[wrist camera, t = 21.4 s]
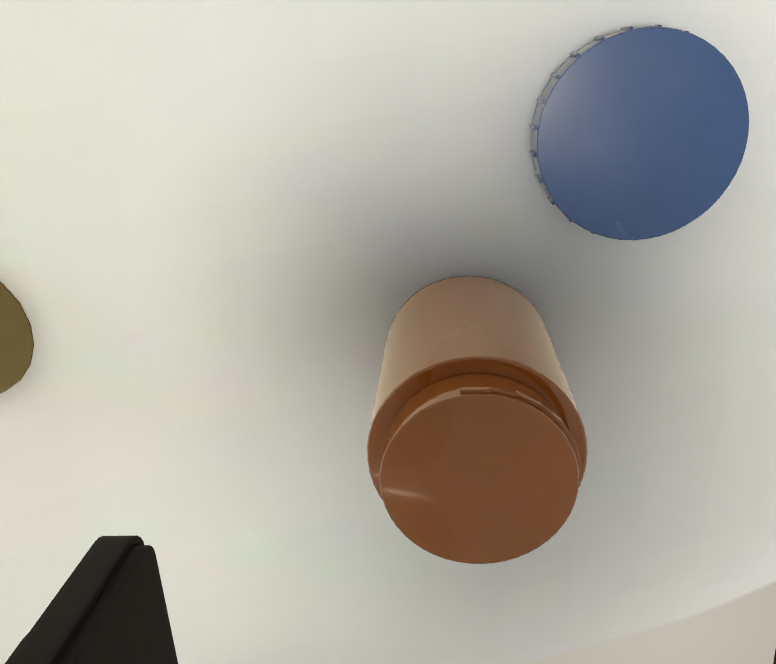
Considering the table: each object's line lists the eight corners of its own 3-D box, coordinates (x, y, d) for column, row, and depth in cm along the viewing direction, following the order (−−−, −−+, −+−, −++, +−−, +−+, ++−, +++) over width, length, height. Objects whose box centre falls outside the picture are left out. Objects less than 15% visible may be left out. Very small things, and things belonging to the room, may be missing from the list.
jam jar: (549, 423, 30) (594, 576, 21) (391, 428, 30) (371, 580, 22) (550, 271, 28) (601, 372, 19) (379, 279, 28) (351, 382, 19)
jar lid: (530, 32, 25) (537, 31, 23) (743, 20, 24) (764, 18, 22) (527, 234, 27) (533, 245, 25) (719, 227, 26) (737, 238, 25)
